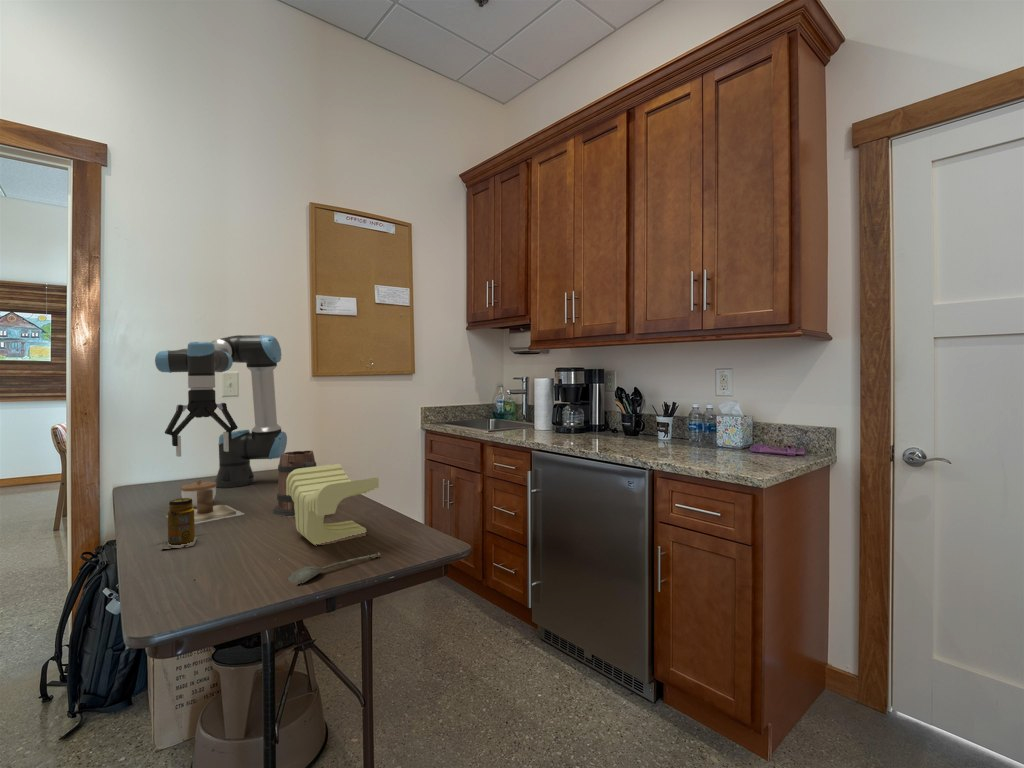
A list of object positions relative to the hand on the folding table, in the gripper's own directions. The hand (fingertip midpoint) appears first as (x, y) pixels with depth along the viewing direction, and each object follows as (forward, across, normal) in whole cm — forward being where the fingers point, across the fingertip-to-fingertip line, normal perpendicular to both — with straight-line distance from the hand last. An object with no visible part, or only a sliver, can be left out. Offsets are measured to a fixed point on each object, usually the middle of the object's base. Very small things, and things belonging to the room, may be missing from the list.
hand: (203, 453), depth 159 cm
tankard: (+21, -23, +20) cm, 37 cm away
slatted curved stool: (+21, -18, +52) cm, 59 cm away
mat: (+21, 0, 0) cm, 21 cm away
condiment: (+21, +13, +26) cm, 36 cm away
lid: (+20, 0, 0) cm, 20 cm away
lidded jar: (+21, -3, -18) cm, 28 cm away
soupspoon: (+22, -6, +76) cm, 80 cm away
